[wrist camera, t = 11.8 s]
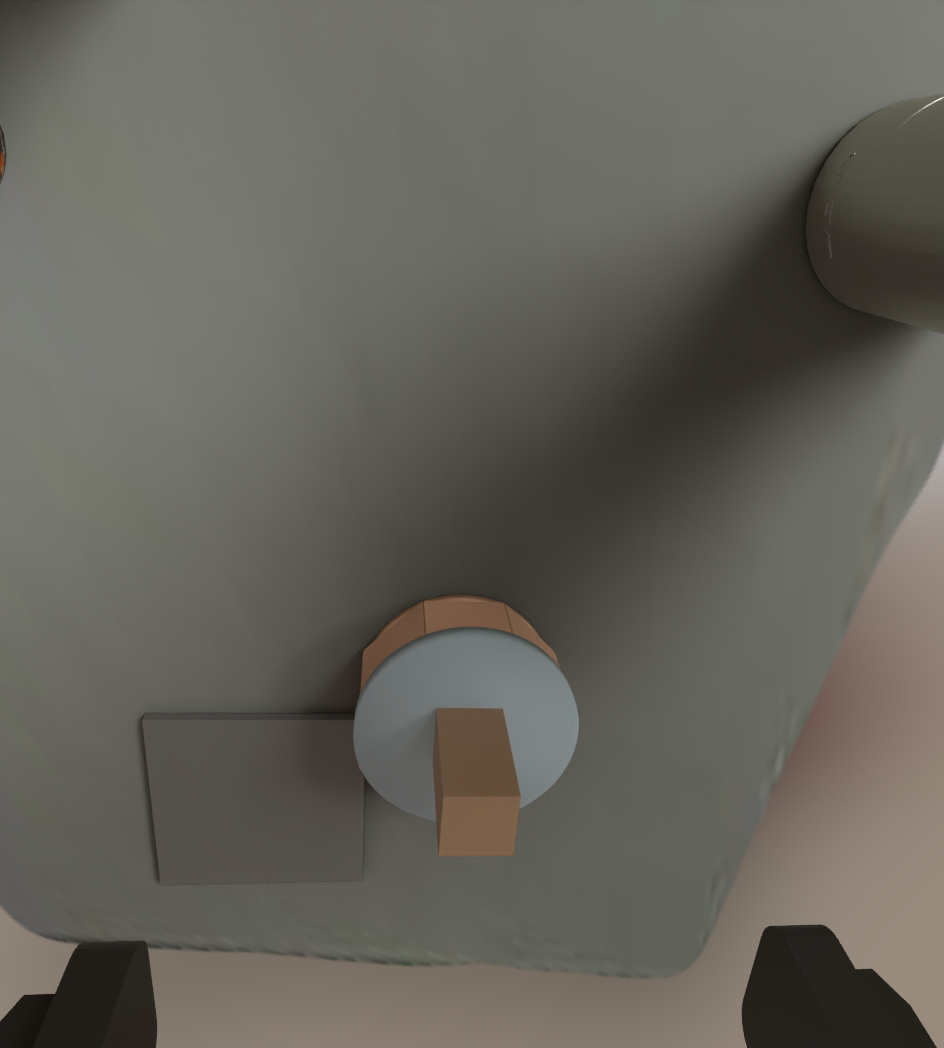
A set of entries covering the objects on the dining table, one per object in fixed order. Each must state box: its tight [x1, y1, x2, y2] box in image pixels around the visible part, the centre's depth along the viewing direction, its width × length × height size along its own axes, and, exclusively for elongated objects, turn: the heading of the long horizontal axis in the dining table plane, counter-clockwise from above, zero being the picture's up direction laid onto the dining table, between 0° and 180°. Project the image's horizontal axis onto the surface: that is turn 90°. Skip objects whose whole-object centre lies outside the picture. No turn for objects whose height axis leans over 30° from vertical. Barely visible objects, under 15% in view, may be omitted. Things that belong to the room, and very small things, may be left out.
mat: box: [142, 713, 365, 885], centre depth 46 cm, size 12×12×1 cm
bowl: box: [359, 594, 559, 770], centre depth 42 cm, size 10×10×5 cm
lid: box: [353, 627, 579, 856], centre depth 36 cm, size 11×11×7 cm
